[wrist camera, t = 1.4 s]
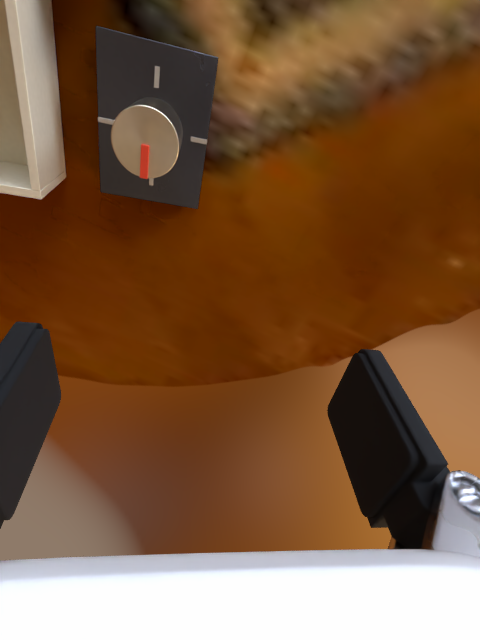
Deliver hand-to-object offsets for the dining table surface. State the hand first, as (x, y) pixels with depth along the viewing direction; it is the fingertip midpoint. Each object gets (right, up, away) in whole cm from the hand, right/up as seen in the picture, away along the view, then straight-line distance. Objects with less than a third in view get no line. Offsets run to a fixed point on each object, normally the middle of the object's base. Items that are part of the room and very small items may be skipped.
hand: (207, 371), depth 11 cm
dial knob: (-6, +18, +18) cm, 26 cm away
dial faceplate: (-6, +19, +21) cm, 29 cm away
